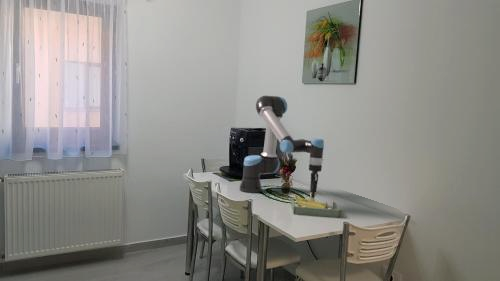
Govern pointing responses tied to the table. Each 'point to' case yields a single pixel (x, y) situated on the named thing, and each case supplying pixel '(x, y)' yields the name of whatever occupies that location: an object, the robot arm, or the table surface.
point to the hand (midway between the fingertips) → (312, 202)
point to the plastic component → (310, 203)
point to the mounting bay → (316, 210)
